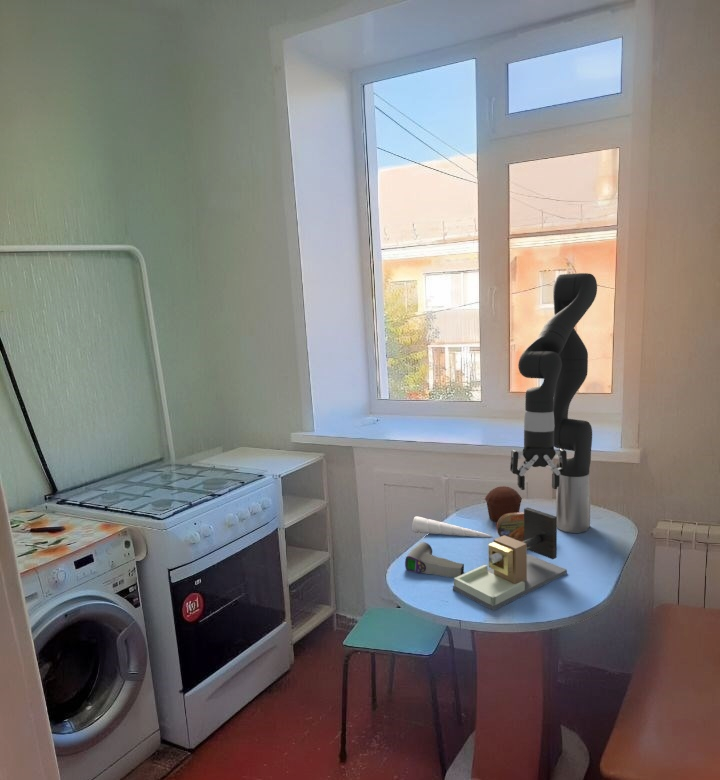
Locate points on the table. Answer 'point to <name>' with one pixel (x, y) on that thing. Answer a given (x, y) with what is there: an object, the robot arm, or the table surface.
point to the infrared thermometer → (431, 562)
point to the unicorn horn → (442, 528)
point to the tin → (511, 526)
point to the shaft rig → (507, 577)
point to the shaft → (537, 534)
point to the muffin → (502, 502)
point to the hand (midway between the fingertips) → (538, 488)
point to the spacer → (508, 558)
